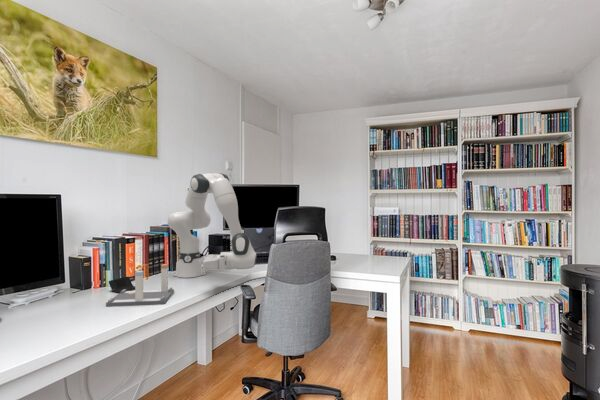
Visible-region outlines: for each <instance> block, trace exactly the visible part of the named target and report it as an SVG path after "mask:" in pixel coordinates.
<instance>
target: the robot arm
mask: <svg viewBox="0 0 600 400" xmlns="http://www.w3.org/2000/svg"><path fill="white" fill-rule="evenodd" d="M208 194H212V195H213V198H214V201H215V204H216V206H217V209H218V210H219V212H220V213H221V215H222V217H223V218H224V220H225V222H226V224H227V226H228V228H229V233H230V236H231V241H230V246H231V249H232V251H220V254H213V253H212V254H210V253H209V254H207V256H206V257H205V258H200V257H201V252H200V239H199V238H198V237H197V236H196V235H194V234H192V233H191V230H200V229H204V228H205V229H206V228H207V227H209V225H210V224H211V215H210V213H208V212H207V210H206V209H205V205H206V201H207V198H208ZM184 203H185V205H186V207H187V208H188V209H189V210H190V211H189V210H188V211H177V212H175V211H174V212H173V213H170V214H169V216H168V217H167V225H168V227H169V228H170V229H171V230H172V231H173V232H175V233H176V235H177V237H178V240H179V253H178V258H179V259H178V260H177V261H176V267H175V273H173V274H172V276H173V277H177V278H196V277H201V276H206V270H214V271H215V270H216V271H217V270H218V271H220V272H223V271H229V270H230V271H231V270H234V269H235V270H249V269H252V268H254V267H255V266H256V263H257V261H256V260H257V257H258V256H257V255H258V254H257V252H256V251H255V250H254V247H253V245H252V243H251V240H250V238H249V236H248V235H247V234H246V233H244V231H243V229H242V226H241V224H240V219H239V205H238V199H237V196H236V193H235V191H234V187H233V185H232V183H231V182H230V178H229V176H228V175H227V174H225V173H221V172H220V173H217V172H209V173H197V174H194V175H193V176H192V177H191V179H190V185H189V188H188V190H187V194H186V198H185V201H184Z"/></svg>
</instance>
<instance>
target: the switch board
mask: <svg viewBox="0 0 600 400" xmlns="http://www.w3.org/2000/svg"><path fill="white" fill-rule="evenodd" d="M174 293H175V289H173V287H168V290H167V291H161V289H149V290H145V289H143V300H142V301H135V290H132V291H126V289H123V290H122V291H121V293H119V294H118V293H117V294H116V295H115V296H114V297H111V298H110V299H108V300H107V302H106V303H105V307H109V308H110V307H125V306H127V307H129V306H150V305H153V306H154V305H165V304H166V303H167V302H168V300H169V299H170V298H171V297H172V295H174Z"/></svg>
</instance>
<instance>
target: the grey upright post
mask: <svg viewBox="0 0 600 400" xmlns="http://www.w3.org/2000/svg"><path fill="white" fill-rule="evenodd" d="M160 270H161V271H160V280H161V281H160V290H161V291H167V290H169V263H163V264H161V265H160Z"/></svg>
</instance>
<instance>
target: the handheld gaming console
mask: <svg viewBox="0 0 600 400" xmlns="http://www.w3.org/2000/svg"><path fill="white" fill-rule="evenodd" d="M108 285H109V287H110V289H111V291H112V292H111V293H114V294H117V295H118V294H119V293H121V291H122V290H123V289H126V291H135V285H133V283H132V280H131V278H130V276H124V277H121V278H116V279H112V280H108Z"/></svg>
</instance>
